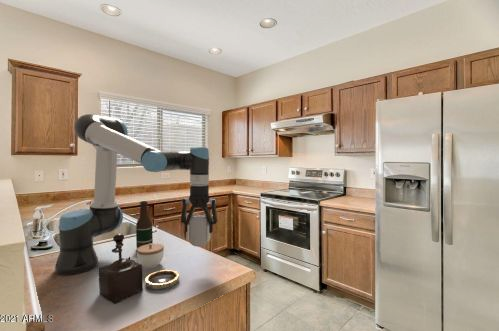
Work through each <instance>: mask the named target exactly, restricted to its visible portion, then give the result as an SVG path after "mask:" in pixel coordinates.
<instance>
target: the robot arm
mask: <svg viewBox="0 0 499 331" xmlns="http://www.w3.org/2000/svg"><path fill="white" fill-rule="evenodd" d="M73 128H74V133H75V135H76V136H77V137H78V138H79V139H80V140H82V141H84V142H85V143H88V144H90V145H92V147H93V148H94V149H95V171H94V190H93V191H94V195H93V202H91V203H90V204H89V208H82V209H75V210H71V211H69V212H64V214H62V215H61V216H60V218H59V220H58V221H59V222H58V223H59V224H58V231H59V254H58V257H57V260H56V264H55V265H54V273H55V274H56V275H60V276H61V275H62V276H69V275H70V276H71V275H77V274H81V273H85V272H87V271H91V270H92V269H94V268H96V267H97V266H98V265H99V257H98V256H97V253H96V251H95V248H94V238H96V237H98V236H102V235H104V234H105V235H106V234H108V233H111V232H113V231H115V230H117V229H119V228H120V226H121V225H122V224H123V220H124V213H123V211H122V209H121V208H120V207H119V204H118V202H116V187H117V185H116V184H117V168H118V155H120V156H123V157H124V158H127V159H129V160H132V161H134V162H135V163H138V164H140V165H142V167H143V168H144V170H145V171H147V172H151V173H159V172H165V171H166V172H167V171H176V170H179V171H180V170H181V171H186V170H187V171H189V184H190V186H189V197H188V198H186V197H185V198H183V199H182V202H181V203H182V209H181V217H180V223H183V224H184V225H185V226H184V230H185V233H187V238H186V239H187V241H189V242H190V219H191V218H192V217H191V216H192V215H194V212H195V210H196V208H197V209H198V208H200V209H202V210H203V212H204V214H205V215H206V218H207V220H208V225H207V241H208V242H210V241H211V234H212V233H213V232H214V225H215V224H217V222H218V215H217V214H218V213H217V208H216V203H217V199H216V198H211V197H210V195H209V193H210V192H209V191H210V190H209V188H210V186H209V182H210V178H209V177H210V175H209V174H210V172H209V169H210V167H209V166H210V153H209V148H208V147H206V146H205V147H204V146H195V147H194V146H192V147H190V148H189V149H190V150H189V151H176V150H175V151H174V150H173V151H166V150H164V151H163V150H159V149H157V148H155V147H153V146H150V145H148V144H146V143H144V142H141V141H139V140H137V139H135V138H132V137H130V136H128V132H129V131H128V129H127V126H126V124H125V123H124V121H122V120H120V119H119V118H114V117H112V116H105V115H97V114H92V113H90V114H88V113H87V114H84V115H81V116H80V117H78V118H77V119H76V120H75V122H74V125H73ZM189 202H190V204H191V207H190V209H189V212H188V214H187V210H188V205H189ZM208 203H209V204H210V205H211V206H210V207H211V212H210V211H209V208H208V207H209V206H208ZM211 215H212V216H211ZM187 241H186V242H187Z"/></svg>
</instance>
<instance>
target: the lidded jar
mask: <svg viewBox="0 0 499 331" xmlns="http://www.w3.org/2000/svg"><path fill="white" fill-rule="evenodd" d="M164 250H165V247H164V244H161V243H153V244H147V245H143V246H140V247H139V248H138V249H137V248H136V254H137V255H136V256H137V257H136V258H137V261H138V263H139V264H141V265H142V268H144V269H155V268H156V267H158V266H159V264H160V263H161V262H162V260H163V257H164Z"/></svg>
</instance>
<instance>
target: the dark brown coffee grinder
mask: <svg viewBox="0 0 499 331" xmlns="http://www.w3.org/2000/svg"><path fill="white" fill-rule="evenodd" d="M112 239H113V241H114V243H115V248H113V249H111V253H115V254H117V253H118V259H117V260H115V261H113V262H111V263H108V264H106V265H103V266H100V267H99V268H98V269H97V270H98V288H99V295H100V296H101V297H102V298H103V299H105V300H106V301H108V302H110V303H111V304H114V305H115V304H117V303H120V302H123V301H124V300H127V299H129V298H131V297H133V296H135V295H138V294H139V293H141V292H143V291H144V288H143V284H144V283H143V280H144V278H143V266H142V265H141V264H140V263H139V262H136V261H135V260H134V259H132V258H131V256H129V257H127V258H123V256H122V252H123V246H124V242H123V241H124V239H125V236H124V234H122V233H116V234H115V235H114V236H113V238H112Z"/></svg>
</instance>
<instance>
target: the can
mask: <svg viewBox="0 0 499 331" xmlns="http://www.w3.org/2000/svg"><path fill="white" fill-rule="evenodd" d="M189 223H190V240H189V243H190V244H191V246H194V247H204V246H206V245H207V244H208V243H209V241H207V225H208V224H209V223H208V220H207V218H206V215H205V213H204V214H203V213H195V214H194V213H193V215H192V216H191V219H190V222H189Z"/></svg>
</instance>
